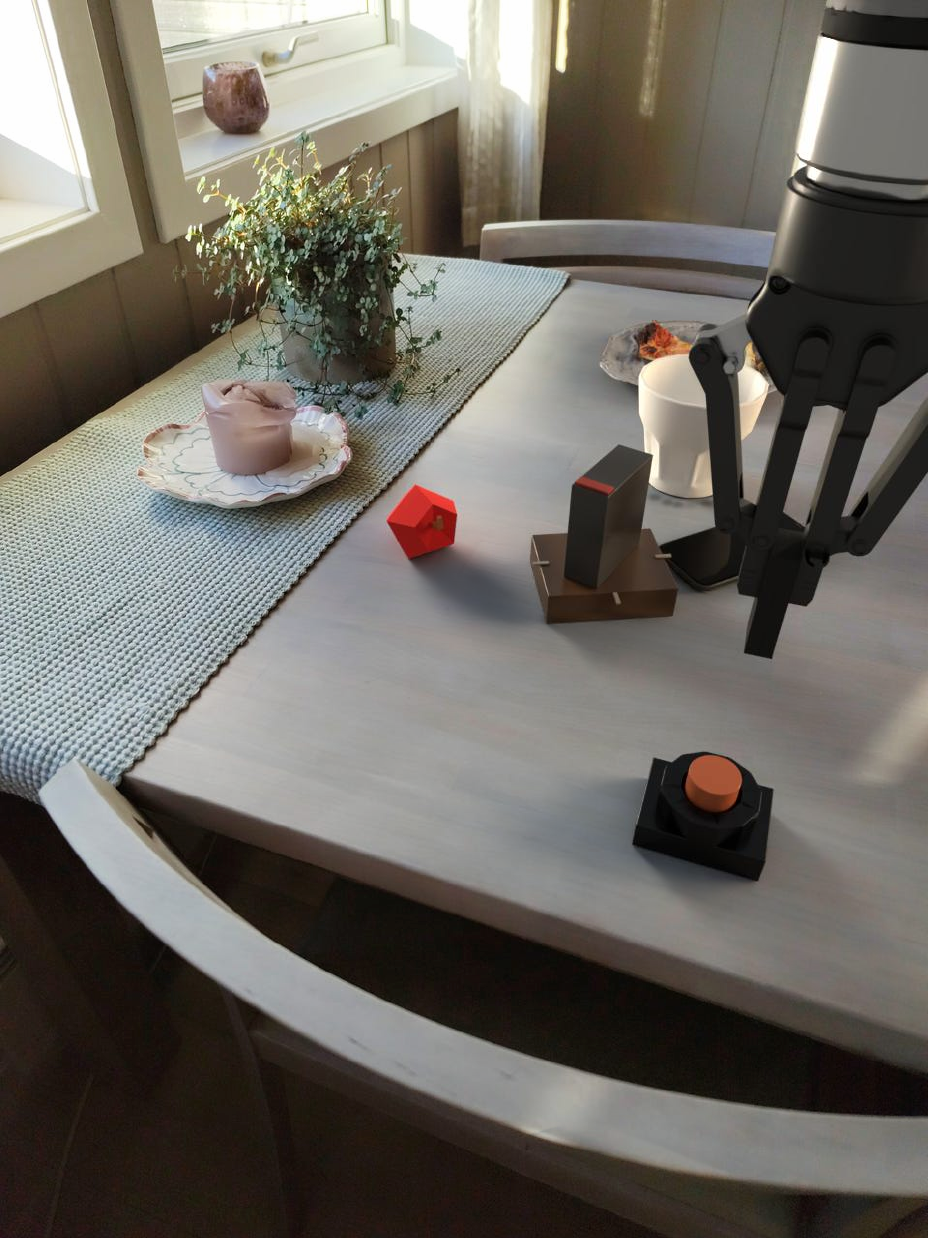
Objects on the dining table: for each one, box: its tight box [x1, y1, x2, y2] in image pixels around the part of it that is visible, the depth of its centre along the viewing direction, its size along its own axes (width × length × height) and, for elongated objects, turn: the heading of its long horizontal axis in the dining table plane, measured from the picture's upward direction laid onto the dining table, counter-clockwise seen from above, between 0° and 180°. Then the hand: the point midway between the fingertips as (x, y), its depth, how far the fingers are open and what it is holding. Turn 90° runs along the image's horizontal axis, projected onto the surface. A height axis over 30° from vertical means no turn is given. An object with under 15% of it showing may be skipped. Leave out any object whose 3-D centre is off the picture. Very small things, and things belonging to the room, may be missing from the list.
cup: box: [638, 354, 769, 499], centre depth 88 cm, size 12×12×11 cm
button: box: [685, 755, 742, 812], centre depth 54 cm, size 3×3×2 cm
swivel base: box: [529, 527, 679, 625], centre depth 76 cm, size 12×12×3 cm
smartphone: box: [658, 511, 805, 592], centre depth 81 cm, size 7×1×15 cm
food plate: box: [599, 319, 778, 395], centre depth 111 cm, size 25×23×4 cm
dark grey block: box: [564, 444, 653, 589], centre depth 72 cm, size 8×3×9 cm, turn 145°
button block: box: [631, 751, 775, 882], centre depth 56 cm, size 8×6×4 cm
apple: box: [386, 484, 458, 560], centre depth 80 cm, size 7×7×8 cm
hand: (759, 640), depth 48 cm, fingers closed
